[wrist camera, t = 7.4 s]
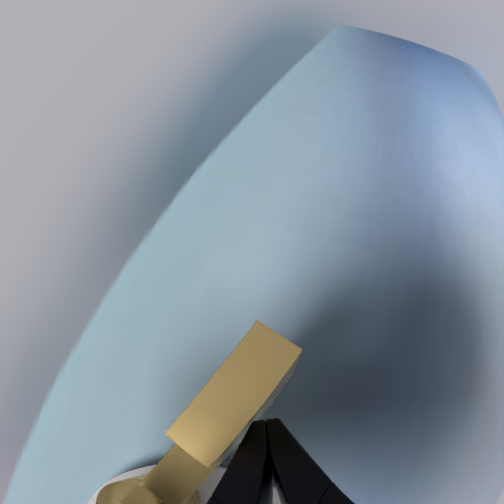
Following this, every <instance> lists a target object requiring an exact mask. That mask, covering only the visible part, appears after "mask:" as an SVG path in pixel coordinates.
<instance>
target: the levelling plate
mask: <svg viewBox="0 0 504 504" xmlns="http://www.w3.org/2000/svg"><path fill="white" fill-rule="evenodd" d="M156 465H157V464H156ZM156 465H150V466H145V467H142V468H138V469H135V470H131V471H128V472H125V473H122V474H120V475H118V476H116V477H114V478H112V479H110V480H109V481H107V482H106V483H104V484H103V485H102V486H101V487H99V488H98V489H97V490H96V491H95V492H94V493H93V495H92V496H91V498H90V499H89V501H88V502H87V504H96V498H97V495H98V493H99V492H100V490H101V489H102V488H103V487H104V486H106V485H108V484H110V483H113V482H117V481H121V480H124V479H128V478H131V477H134V476H138V475H141V474H144V473H147V472H150V471H151V470H152V469H153V468H154V467H155V466H156ZM226 469H227V468H224V467H218V468H217V469H216V470H215V471H214V472H213V473H212V474H211V475H210V476H209V478H208V479H207V480H206V481H205V482H204V483H203V484H202V485H201V486H200V487H199V488H198V489H197V491H198V493H199V496H200V499H201V504H206V503H207V501H208V500H209V498H210V497H211V496H212V493H213V491H214V490H215V488H216V486H217V485H218V483H219V481H220V479H221V478H222V476H223V474H224V472H225V471H226ZM273 504H281V503H280V499H279V496H278V492H277V489H276V487H275V486H273Z"/></svg>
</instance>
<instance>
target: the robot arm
mask: <svg viewBox="0 0 504 504" xmlns="http://www.w3.org/2000/svg"><path fill="white" fill-rule="evenodd" d="M272 471H273V472H272ZM273 477H274V481H275V485H276V489H277V492H278V496H279V499H280V503H281V504H355V503H354V502H352V501H351V500H350V499H349V498H348V497H347V496H346V495H345V494H344V493H343V492H342V491H341V490H340V489H339V488H338V487H337V486H336V485H335V484H334V483H333V482H332V481H331V479H330V478H329V477H328V476H327V475H326V474H325V473H324V472H323V471H322V469H321V468H320V467H319V466H318V465H317V464H316V462H315V461H314V460H313V459H312V458H311V457H310V456H309V454H308V453H307V452H306V451H305V450H304V448H303V447H302V446H301V445H300V444H299V442H298V441H297V440H296V439H295V438H294V436H293V435H292V434H291V433H290V431H289V430H288V429H287V428H286V427H285V425H284V424H283V423H282V422H281V420H280V419H279V418H274V419H267V420H266V422H265V420H258V421H253V422H252V423H251V424H250V426H249V428H248V430H247V432H246V434H245V436H244V438H243V440H242V441H241V443H240V445H239V447H238V449H237V451H236V453H235V454H234V456H233V458H232V460H231V462H230V463H229V465H228V467H227V469H226V471H225V472H224V474H223V476H222V478H221V479H220V481H219V483H218V485H217V486H216V488H215V490H214V491H213V493H212V496H211V497H210V498H209V500H208V501H207V503H206V504H273Z"/></svg>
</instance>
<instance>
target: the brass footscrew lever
mask: <svg viewBox="0 0 504 504" xmlns="http://www.w3.org/2000/svg"><path fill="white" fill-rule="evenodd" d="M302 350H303V349H301V348H300V347H298V346H296V345H295V344H293V343H292V342H290V341H289V340H287V339H286V338H284V337H282V336H281V335H279V334H278V333H276V332H275V331H273V330H272V329H270V328H269V327H267V326H266V325H264V324H263V323H261V322H260V321H258V320H257V321H256V322H255V324H254V325H253V326H252V328H251V329H250V330H249V331H248V333H247V334H246V335H245V337H244V338H243V339H242V340H241V342H240V343H239V344H238V345H237V347H236V348H235V349H234V351H233V352H232V353H231V354H230V356H229V357H228V358H227V359H226V361H225V362H224V363H223V364H222V365H221V367H220V368H219V369H218V370H217V372H216V373H215V374H214V375H213V377H212V378H211V379H210V380H209V381H208V383H207V384H206V385H205V386H204V388H203V389H202V390H201V391H200V392H199V394H198V395H197V396H196V397H195V398H194V400H193V401H192V402H191V403H190V404H189V405H188V407H187V408H186V409H185V410H184V411H183V413H182V414H181V415H180V416H179V417H178V418H177V420H176V421H175V422H174V423H173V424H172V425H171V427H170V428H169V429H168V430H167V431H166V432H165V434H166V435H167V436H168V437H169V438H170V439H172V440H173V441H174V442H175V445H174V446H173V447H172V448H171V449H170V450H169V451H168V452H167V454H166V455H165V456H164V457H163V458H162V459H161V460H160V461H159V462H158V464H157V465H156V466H155V467H154V468H153V469H152V470H151V471H150V472H147V473H144V474H141V475H138V476H134V477H131V478H128V479H124V480H121V481H117V482H113V483H110V484H108V485H106V486H104V487H103V488H102V489H101V490H100V492H99V493H98V495H97V498H96V504H201V499H200V496H199V493H198V491H197V489H198V488H199V487H200V486H201V485H202V484H203V483H204V482H205V481H206V480H207V479H208V478H209V476H210V475H211V474H212V473H213V472H214V471H215V470H216V469H217V468H218V467H219V465H220V464H221V463H222V462H223V461H224V460H225V459H226V458H227V456H228V455H229V454H230V453H231V452H232V451H234V449H235V448H236V447H237V446H238V445H239V443H240V442H241V441H242V440H243V438H244V436H245V434H246V432H247V430H248V428H249V426H250V424H251V423H252V422H253V421H258V420H259V419H260V418H261V417H262V415H263V414H264V413H265V411H266V410H267V409H268V408H269V406H270V405H271V404H272V402H273V401H274V400H275V398H276V397H277V396H278V394H279V393H280V392H281V390H282V389H283V388H284V386H285V385H286V384H287V382H288V381H289V380H290V378H291V377H292V375H293V373H294V371H295V368H296V366H297V363H298V361H299V358H300V355H301V353H302Z"/></svg>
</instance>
